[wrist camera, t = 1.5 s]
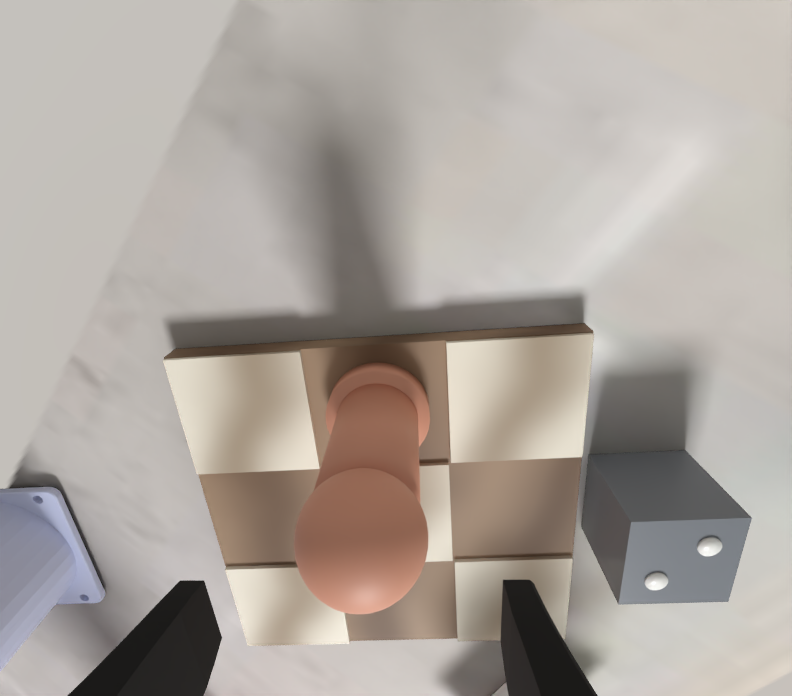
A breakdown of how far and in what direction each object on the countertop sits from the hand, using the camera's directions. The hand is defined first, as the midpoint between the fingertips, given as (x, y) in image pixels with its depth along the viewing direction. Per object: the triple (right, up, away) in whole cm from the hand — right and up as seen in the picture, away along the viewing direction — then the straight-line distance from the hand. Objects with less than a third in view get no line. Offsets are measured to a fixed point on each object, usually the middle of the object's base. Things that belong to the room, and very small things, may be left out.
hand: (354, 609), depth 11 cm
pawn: (0, +4, +9) cm, 10 cm away
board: (+1, -2, +12) cm, 12 cm away
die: (+13, -1, +11) cm, 17 cm away
